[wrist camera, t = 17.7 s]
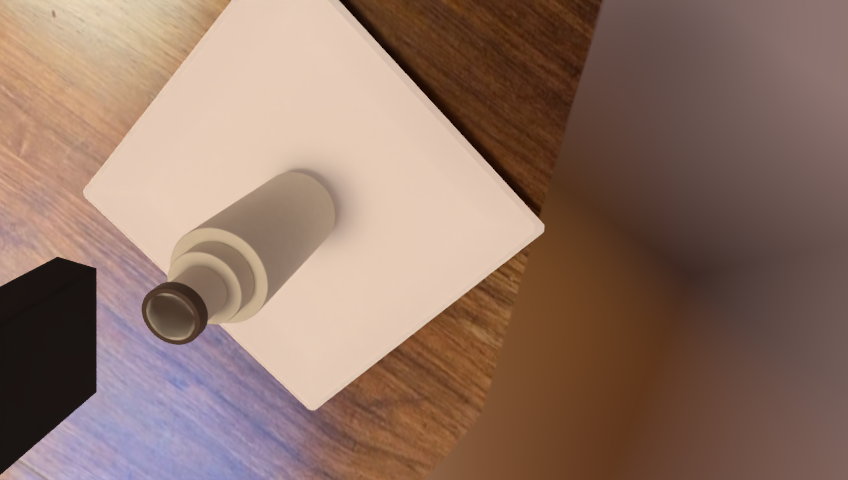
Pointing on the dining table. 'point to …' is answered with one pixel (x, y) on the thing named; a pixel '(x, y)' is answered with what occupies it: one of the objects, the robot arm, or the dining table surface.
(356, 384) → the dining table surface
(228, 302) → the bottle
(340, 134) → the beige square board
